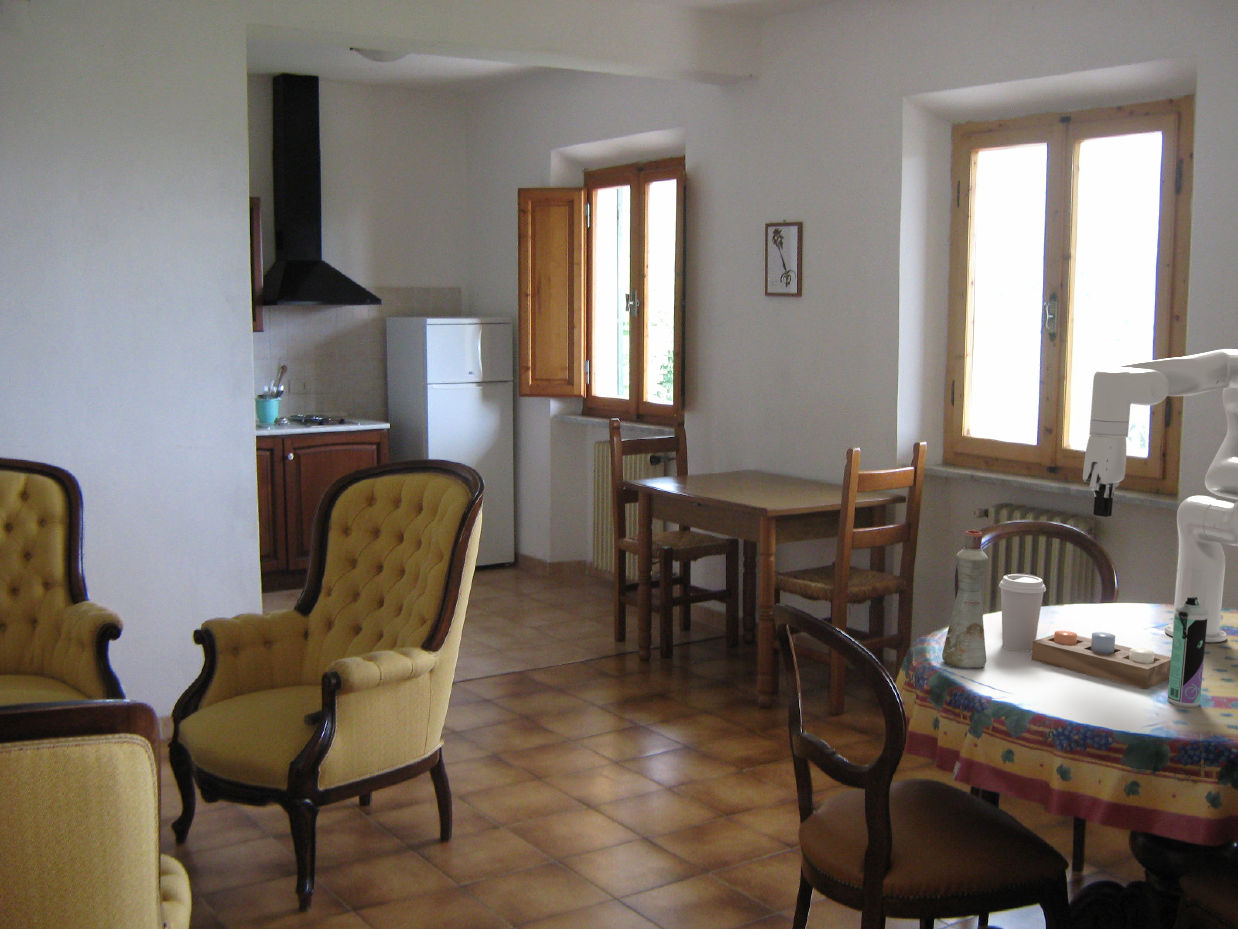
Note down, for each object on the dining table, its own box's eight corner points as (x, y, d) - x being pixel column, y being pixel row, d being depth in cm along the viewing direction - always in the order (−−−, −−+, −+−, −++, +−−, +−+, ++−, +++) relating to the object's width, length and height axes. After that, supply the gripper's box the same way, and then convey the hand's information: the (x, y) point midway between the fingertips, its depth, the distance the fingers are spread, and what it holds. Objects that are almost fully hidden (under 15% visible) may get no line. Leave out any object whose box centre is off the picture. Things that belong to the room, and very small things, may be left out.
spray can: (1197, 709, 222) (1207, 602, 219) (1165, 703, 225) (1174, 597, 222) (1201, 701, 226) (1210, 596, 224) (1169, 695, 229) (1178, 592, 227)
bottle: (949, 671, 242) (957, 532, 238) (936, 657, 251) (944, 524, 247) (992, 671, 242) (1001, 533, 238) (977, 658, 251) (986, 525, 247)
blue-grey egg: (1096, 653, 248) (1098, 631, 248) (1117, 658, 245) (1119, 635, 244) (1086, 657, 245) (1087, 634, 245) (1107, 662, 242) (1108, 639, 242)
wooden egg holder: (1060, 650, 258) (1061, 632, 258) (1173, 677, 241) (1175, 658, 240) (1031, 660, 250) (1032, 641, 250) (1145, 689, 233) (1147, 669, 232)
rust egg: (1059, 651, 254) (1061, 629, 254) (1079, 656, 251) (1081, 634, 251) (1048, 655, 251) (1050, 633, 251) (1068, 660, 248) (1070, 637, 248)
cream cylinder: (1134, 670, 243) (1136, 646, 242) (1156, 675, 239) (1158, 651, 239) (1124, 674, 240) (1125, 650, 239) (1146, 679, 236) (1148, 655, 236)
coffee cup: (1019, 639, 267) (1023, 572, 265) (1051, 650, 258) (1056, 581, 256) (985, 643, 262) (989, 575, 260) (1017, 655, 254) (1022, 585, 252)
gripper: (1108, 425, 261) (1102, 509, 263) (1074, 429, 251) (1067, 516, 253) (1143, 428, 255) (1136, 514, 258) (1109, 432, 245) (1102, 522, 248)
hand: (1102, 515), depth 256 cm, fingers closed
